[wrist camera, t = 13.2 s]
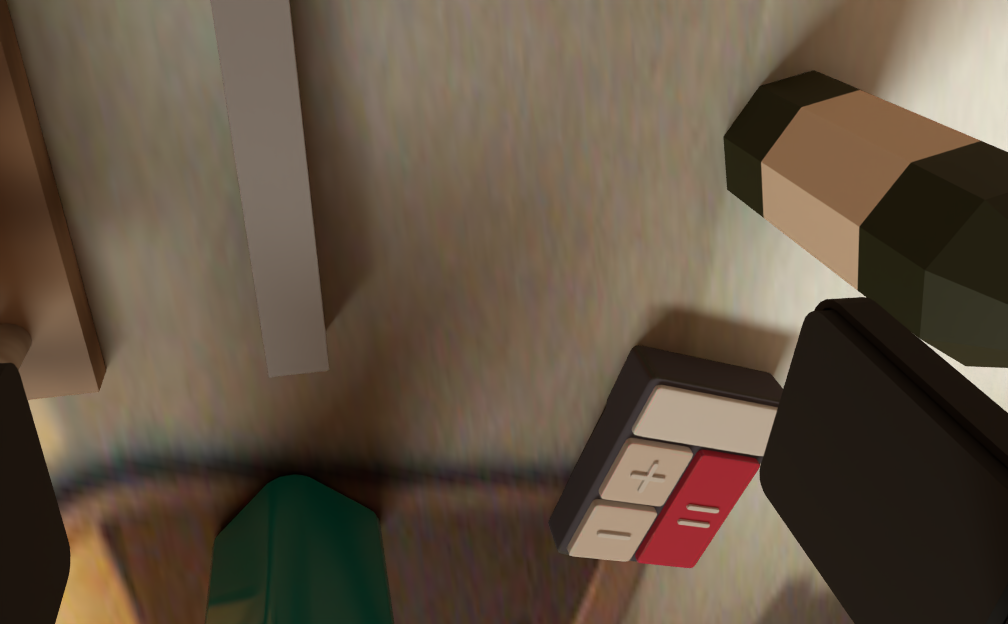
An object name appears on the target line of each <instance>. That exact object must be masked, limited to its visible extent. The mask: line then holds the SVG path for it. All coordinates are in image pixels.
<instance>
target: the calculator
mask: <svg viewBox="0 0 1008 624" xmlns="http://www.w3.org/2000/svg"><path fill="white" fill-rule="evenodd" d="M782 392H783V388H782V387H781V386H780V385H779V383H778V382H777V381H776V380H775V378H774V377H773V376H772V375H771V374H770V373H767V372H762V371H757V370H753V369H748V368H743V367H739V366H734V365H729V364H725V363H720V362H715V361H710V360H706V359H701V358H696V357H692V356H687V355H682V354H678V353H673V352H668V351H663V350H659V349H654V348H649V347H645V346H635V347H634V348H632V350H631V351H630V353H629V355H628V357H627V359H626V362H625V364H624V366H623V368H622V370H621V372H620V374H619V376H618V378H617V380H616V382H615V384H614V387H613V389H612V391H611V393H610V395H609V397H608V399H607V405H606V408H605V410H604V412H603V414H602V416H601V418H600V420H599V422H598V424H597V426H596V428H595V429H594V431H593V433H592V435H591V437H590V439H589V441H588V443H587V445H586V447H585V448H584V450H583V452H582V454H581V456H580V458H579V460H578V462H577V464H576V466H575V468H574V470H573V472H572V474H571V476H570V478H569V480H568V482H567V485H566V487H565V489H564V491H563V493H562V495H561V497H560V499H559V501H558V503H557V505H556V507H555V509H554V512H553V514H552V516H551V518H550V520H549V526H550V529H551V532H552V535H553V538H554V541H555V544H556V547H557V550H558V552H559V553H561V554H569V555H571V556H576V557H586V558H595V559H605V560H615V561H637V562H638V563H644V564H654V565H664V566H673V567H683V568H692V567H694V566H695V564H696V563H697V562H698V560H699V559H700V557H701V556H702V554H703V552H704V551H705V549H706V548H707V546H708V545H709V543H710V542H711V540H712V539H713V537H714V536H715V534H716V533H717V531H718V530H719V528H720V527H721V525H722V524H723V522H724V521H725V519H726V518H727V516H728V515H729V513H730V512H731V510H732V509H733V507H734V505H735V504H736V502H737V501H738V499H739V498H740V496H741V495H742V493H743V492H744V490H745V489H746V487H747V486H748V484H749V483H750V481H751V480H752V478H753V477H754V475H755V474H756V472H757V471H758V469H759V467H760V463H761V462H762V459H763V456H764V452H765V449H766V445H767V442H768V439H769V435H770V432H771V429H772V425H773V422H774V419H775V415H776V412H777V409H778V405H779V402H780V399H781V395H782Z"/></svg>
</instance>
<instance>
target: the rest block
mask: <svg viewBox="0 0 1008 624" xmlns="http://www.w3.org/2000/svg"><path fill="white" fill-rule="evenodd" d="M211 6H212V13H213V19H214V26H215V32H216V39H217V45H218V52H219V58H220V65H221V71H222V78H223V84H224V91H225V97H226V104H227V110H228V117H229V123H230V130H231V136H232V143H233V149H234V156H235V162H236V169H237V175H238V182H239V188H240V195H241V201H242V208H243V214H244V221H245V227H246V234H247V240H248V247H249V253H250V260H251V266H252V273H253V279H254V286H255V292H256V299H257V305H258V312H259V318H260V325H261V331H262V338H263V344H264V351H265V357H266V364H267V370H268V377H277V376H286V375H295V374H304V373H313V372H322V371H329V362H328V350H327V339H326V328H325V319H324V310H323V301H322V291H321V282H320V273H319V264H318V255H317V245H316V236H315V227H314V218H313V209H312V199H311V190H310V181H309V172H308V163H307V153H306V144H305V135H304V126H303V117H302V107H301V98H300V89H299V80H298V71H297V61H296V52H295V43H294V34H293V25H292V15H291V6H290V0H211Z"/></svg>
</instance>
